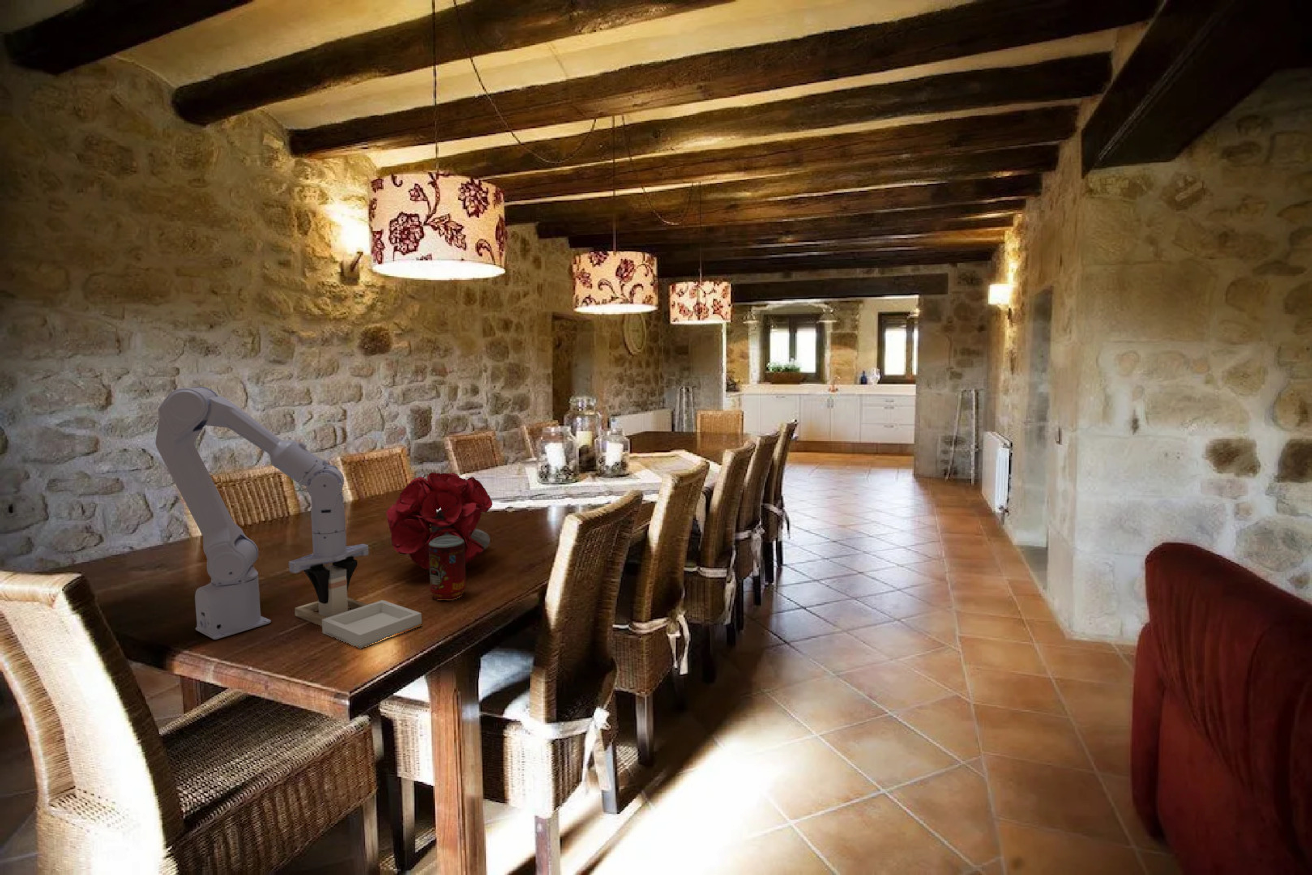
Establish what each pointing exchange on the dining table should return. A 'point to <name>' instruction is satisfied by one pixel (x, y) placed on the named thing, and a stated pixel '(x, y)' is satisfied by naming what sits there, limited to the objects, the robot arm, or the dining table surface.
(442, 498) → the bouquet
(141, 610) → the dining table surface
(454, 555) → the soda can
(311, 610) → the frame
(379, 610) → the tray
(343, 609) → the block
